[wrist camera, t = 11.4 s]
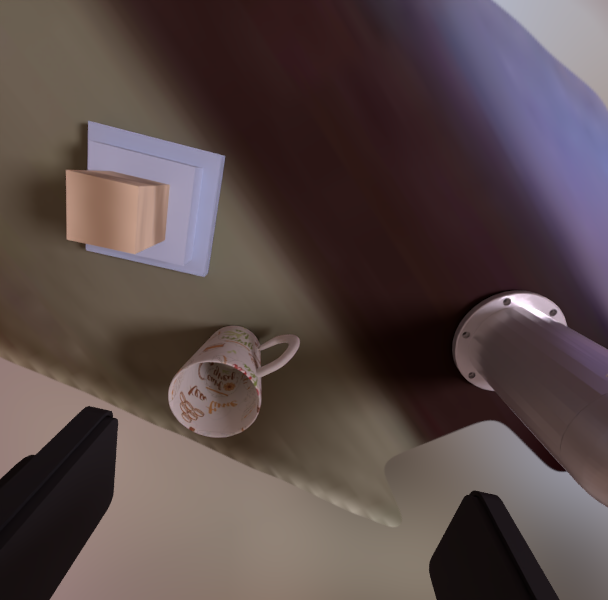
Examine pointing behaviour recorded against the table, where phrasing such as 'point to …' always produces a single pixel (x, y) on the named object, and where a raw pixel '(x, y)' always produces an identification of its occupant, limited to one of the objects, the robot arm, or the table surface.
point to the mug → (224, 382)
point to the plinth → (206, 193)
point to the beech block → (115, 210)
